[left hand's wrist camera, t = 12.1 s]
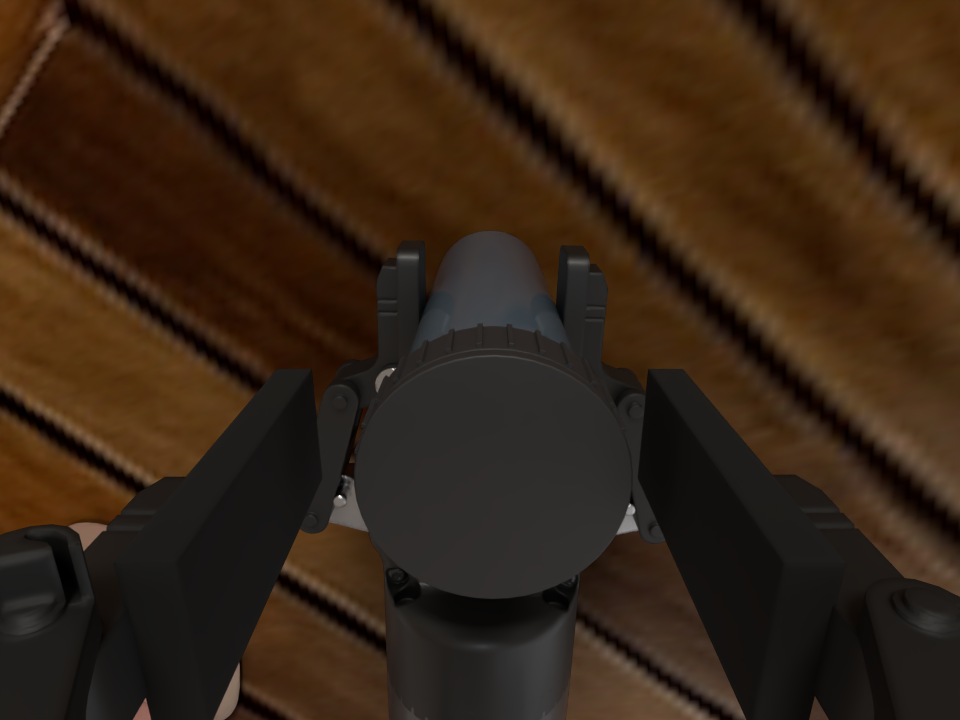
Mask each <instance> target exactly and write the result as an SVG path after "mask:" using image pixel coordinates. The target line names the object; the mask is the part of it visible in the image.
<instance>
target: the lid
mask: <svg viewBox="0 0 960 720" xmlns="http://www.w3.org/2000/svg"><path fill="white" fill-rule="evenodd" d="M361 428H362V429H363V431H362V434H361V436H360V439H359V441H358V443H357V446H356V448H355V453H354V454H356V458H355V465H354V488H355V495H356V501H357V504H358V507H359V510H360V514H361V516H362V519H363V521H364V523H365V525H366V527H367V529H368V531H369V533H370V534H371V536H372V537H373V539H374V540H375V542H376V544H377V545H378V546H379V547H380V548H381V549H382V551H383V552H384V553H385V554H386V555H387V556H388V557H389V558H390V559H391V560H392V561H393V562H394V563H395V564H396V565H398V566H399V567H400V568H401V569H403V570H404V571H406V572H407V573H408V574H410V575H411V576H413V577H415V578H416V579H418V580H420V581H422V582H424V583H426V584H428V585H430V586H433V587H435V588H437V589H440V590H442V591H446V592H449V593H453V594H456V595H461V596H467V597H473V598H485V599H501V598H513V597H520V596H526V595H530V594H533V593H537V592H541V591H544V590H546V589H549V588H552V587H554V586H557V585H559V584H561V583H563V582H564V581H566V580H568V579H570V578H572V577H574V576H575V575H576V574H578V573H579V572H581V571H582V570H584V569H585V568H586V567H588V566H589V565H590V564H591V563H592V562H593V561H595V560H596V559H597V558H598V557H599V556H600V555H601V553H602V552H603V551H604V550H605V549H606V548H607V547H608V546H609V544H610V543H611V541H612V540H613V538H614V537H615V535H616V534H617V532H618V530H619V528H620V526H621V524H622V522H623V520H624V518H625V515H626V512H627V509H628V506H629V503H630V498H631V492H632V484H633V468H632V460H631V459H632V453H631V451H630V449H629V447H628V443H627V440H626V437H625V435H624V433H626V432H627V429H626V427H625V425H624V422H623V420H622V418H621V416H620V414H619V412H618V410H617V407H616V405H615V403H614V402H613V400H612V397H611V395H610V393H609V391H608V389H607V387H606V385H605V382H604V381H603V379H600V380H598V379H597V377H596V376H595V374H594V373H593V372H592V370H591V367H590V365H589V363H588V361H587V360H586V359H585V358H584V359H583V360H581V359H580V358H578V357H577V356H576V355H575V354H574V353H573V352H571V351H570V350H568V347H567V345H566V343H564V342H561V343H560V344H559V343H557V342H555V341H553V340H551V339H549V338H547V337H545V336H543V335H541V331H538V330H535V332H531V331H528V330H522V329H517V328H513V327H512V324H507V326H506V327H501V326H484V327H483V323H480V324H477V327H473V328H468V329H463V330H458V331H455V330H454V329H450V330H449V332H448V334H446V335H443V336H441V337H439V338H436V339H434V340H432V341H430V342H429V341H428V340H425V341H423V343H422V346H421V347H420V348H419V349H417V350H415V351H414V352H413V353H412V354H410V355H409V356H408V357H406V356H405V355H404V356H402V357H401V358H400V361H399V364H398V366H397V368H396V369H395V370H394V371H393V372H392V373H391V375H390V376H389V377H388V376H387V375H385V377H384V378H383V380H382V383H381V385H380V388H379V390H378V392H377V395H376V397H375V398H373V399H372V401H371V404H370V406H369V408H368V411H367V413H366V415H365V418H364V420H363V422H362V425H361Z"/></svg>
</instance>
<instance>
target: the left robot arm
mask: <svg viewBox="0 0 960 720" xmlns="http://www.w3.org/2000/svg"><path fill="white" fill-rule="evenodd" d="M321 480H322V468H321V458H320V448H319V438H318V428H317V417H316V407H315V397H314V387H313V377H312V369H277V370H276V371H275V372H274V373H273V375H272V376H271V377H270V378H269V379H268V381H267V382H266V383H265V384H264V385H263V386H262V388H261V389H260V390H259V391H258V392H257V394H256V395H255V396H254V397H253V398H252V399H251V401H250V402H249V403H248V404H247V405H246V407H245V408H244V409H243V410H242V411H241V412H240V414H239V415H238V416H237V417H236V418H235V420H234V421H233V422H232V423H231V424H230V425H229V427H228V428H227V429H226V430H225V431H224V433H223V434H222V435H221V436H220V437H219V438H218V440H217V441H216V442H215V443H214V444H213V446H212V447H211V448H210V449H209V450H208V451H207V453H206V454H205V455H204V456H203V457H202V459H201V460H200V461H199V462H198V463H197V464H196V466H195V467H194V468H193V469H192V470H191V472H190V473H189V474H188V475H187V476H186V477H164V478H162V479H161V480H159V481H157V482H156V483H154V484H152V485H151V486H149V487H147V488H146V489H144V490H142V491H141V492H139V493H138V494H137V495H136V496H135V497H134V498H133V499H132V500H131V501H130V502H129V503H128V505H127V506H126V507H125V508H124V509H123V510H122V511H121V515H117V516H116V517H115V518H114V519H113V520H112V522H111V523H110V524H109V525H108V526H107V527H106V531H102V532H101V533H100V534H99V535H98V536H97V538H96V539H95V540H94V541H93V542H92V543H91V544H90V545H89V546H88V547H87V548H86V549H85V550H84V551H83V547H82V543H81V539H80V535H79V533H77V532H76V531H74V530H73V529H72V528H70V527H67V526H60V525H53V524H51V525H40V526H30V527H26V528H22V529H18V530H15V531H11V532H7V533H4V534H2V535H0V720H133V719H134V717H135V715H136V714H137V712H138V710H139V708H140V707H141V705H142V703H143V702H144V700H145V698H146V701H147V705H148V709H149V713H150V717H151V720H214V717H215V715H216V713H217V711H218V709H219V706H220V704H221V702H222V700H223V697H224V695H225V693H226V691H227V689H228V686H229V684H230V682H231V680H232V678H233V675H234V673H235V671H236V669H237V666H238V664H239V662H240V660H241V658H242V655H243V653H244V651H245V649H246V647H247V644H248V642H249V640H250V638H251V635H252V633H253V631H254V629H255V627H256V624H257V622H258V620H259V618H260V616H261V613H262V611H263V609H264V607H265V604H266V602H267V600H268V598H269V596H270V593H271V591H272V589H273V587H274V584H275V582H276V580H277V578H278V576H279V573H280V571H281V569H282V567H283V565H284V562H285V560H286V558H287V556H288V553H289V551H290V549H291V547H292V545H293V542H294V540H295V538H296V536H297V534H298V531H299V529H300V527H301V525H302V522H303V520H304V518H305V516H306V514H307V511H308V509H309V507H310V505H311V502H312V500H313V498H314V496H315V494H316V491H317V489H318V487H319V485H320V483H321ZM638 480H639V483H640V485H641V487H642V489H643V491H644V494H645V496H646V498H647V500H648V502H649V505H650V507H651V509H652V511H653V514H654V516H655V518H656V520H657V522H658V525H659V527H660V529H661V531H662V534H663V536H664V538H665V540H666V542H667V545H668V547H669V549H670V551H671V553H672V556H673V558H674V560H675V562H676V565H677V567H678V569H679V571H680V573H681V576H682V578H683V580H684V582H685V584H686V587H687V589H688V591H689V593H690V596H691V598H692V600H693V602H694V604H695V607H696V609H697V611H698V613H699V616H700V618H701V620H702V622H703V624H704V627H705V629H706V631H707V633H708V635H709V638H710V640H711V642H712V644H713V647H714V649H715V651H716V653H717V655H718V658H719V660H720V662H721V664H722V666H723V669H724V671H725V673H726V675H727V678H728V680H729V682H730V684H731V686H732V689H733V691H734V693H735V695H736V698H737V700H738V702H739V704H740V706H741V709H742V711H743V713H744V715H745V717H746V720H809V717H810V713H811V709H812V705H813V701H814V697H816V698H817V700H818V702H819V703H820V705H821V707H822V709H823V710H824V712H825V714H826V715H827V717H828V719H829V720H960V597H959V596H957V595H955V594H953V593H951V592H949V591H947V590H945V589H943V588H941V587H939V586H935V585H932V584H929V583H925V582H922V581H919V580H916V579H907V578H904V577H903V576H902V575H901V574H900V573H899V572H898V571H897V569H896V568H895V567H894V566H893V565H892V564H891V563H890V562H889V561H888V560H887V559H886V558H885V557H884V556H883V555H882V554H881V553H880V551H879V550H878V549H877V548H876V547H875V546H874V545H873V544H872V543H871V542H870V541H869V540H868V539H867V538H866V537H865V536H864V535H863V534H862V532H861V531H860V530H859V529H855V528H854V524H853V523H852V522H851V521H850V520H849V519H848V518H847V517H846V516H845V514H844V513H840V511H839V508H838V507H837V506H836V505H835V504H834V503H833V502H832V501H831V500H830V499H829V498H828V497H827V495H826V494H825V493H824V492H823V491H822V490H820V489H818V488H817V487H815V486H813V485H812V484H810V483H808V482H807V481H805V480H803V479H801V478H800V477H798V476H796V475H772V474H771V473H770V472H769V470H768V469H767V468H766V467H765V466H764V465H763V463H762V462H761V461H760V460H759V459H758V457H757V456H756V455H755V454H754V453H753V451H752V450H751V449H750V448H749V447H748V446H747V444H746V443H745V442H744V441H743V440H742V438H741V437H740V436H739V435H738V434H737V433H736V431H735V430H734V429H733V428H732V427H731V425H730V424H729V423H728V422H727V421H726V420H725V418H724V417H723V416H722V415H721V414H720V412H719V411H718V410H717V409H716V408H715V407H714V405H713V404H712V403H711V402H710V401H709V399H708V398H707V397H706V396H705V395H704V394H703V392H702V391H701V390H700V389H699V388H698V386H697V385H696V384H695V383H694V382H693V381H692V379H691V378H690V377H689V376H688V375H687V373H686V372H685V371H684V370H683V369H648V377H647V387H646V397H645V407H644V417H643V428H642V438H641V448H640V458H639V468H638Z"/></svg>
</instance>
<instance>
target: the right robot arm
mask: <svg viewBox="0 0 960 720" xmlns="http://www.w3.org/2000/svg"><path fill="white" fill-rule="evenodd" d="M376 287H377V311H378V313H377V318H378V349H379V353H378V354H377V355H376V356H374V357H372V358H369V359H366V360H363V361H359V360H348V361H346V362H344V363H343V364H342V365H341V366H340V368H339V369H338V371H337V373H336V376H335V378H334V380H333V382H332V383H331V384H330V385H329V386H328V387H327V389H326V390H325V392H324V394H323V396H322V400H321V405H320V409H319V413H318V417H317V428H318V438H319V448H320V458H321V468H322V480H321V483H320V485H319V487H318V489H317V491H316V494H315V496H314V498H313V500H312V502H311V505H310V507H309V509H308V511H307V514H306V516H305V518H304V520H303V522H302V525H301V527H300V529H301V530H302V531H304V532H307V533H319V532H321V531H323V530H324V529H325V528H326V527H327V525H328V522H331V523H335V524H339V525H343V526H347V527H351V528H355V529H358V530H362V531H366V532H368V533H369V531H368V529H367V527H366V525H365V523H364V521H363V519H362V516H361V514H360V510H359V507H358V504H357V501H356V495H355V488H354V465H355V463H349V460H350V456H351V453H352V449H353V445H354V441H355V437H356V433H357V430H358V426H359V422H360V418H361V414H362V410H363V408H365V407H368V406H370V404H371V401H372V399H373V398H375V397H376V395H377V392H378V390H379V388H380V385H381V383H382V380H383V378H384V377H385V375H387V376H388V377H389V376H390V375H391V373H392V372H393V371H394V370H395V369H396V368H397V366H398V364H399V361H400V358H401V357H402V356H404V355H405V356H406V357H408V355H409V352H410V349H411V346H412V343H413V340H414V338H415V335H416V332H417V329H418V326H419V323H420V320H421V318H422V315H423V312H424V309H425V243H424V241H402V243H401V244H400V245H399V247H398V249H397V258H388V260H387V261H386V262H385V263H384V265H383V266H382V268H381V271H380V274H379V276H378V279H377V282H376ZM607 293H608V288H607V284H606V281H605V278H604V275H603V272H602V271H601V270H600V269H599V268H598V266H597V265H596V264H590V259H589V253H588V252H587V251H586V250H585V248H584V247H583V246H563V245H562V246H561V249H560V256H559V270H558V284H557V299H556V308H557V311H558V313H559V316H560V319H561V321H562V324H563V326H564V329H565V331H566V334H567V337H568V339H569V342H570V344H571V347H572V349H573V352H574V354H575V355H576V356H577V357H578V358H580V359H581V360H583V359H584V358H585V359H586V360H587V361H588V363H589V365H590V367H591V370H592V372H593V373H594V374H595V376H596V377H597V379H598V380H600V379H603V381H604V382H605V385H606V387H607V389H608V391H609V393H610V395H611V397H612V400H613V402H614V403H615V405H616V407H617V410H618V412H619V414H620V416H621V418H622V420H623V422H624V425H625V427H626V429H627V432H626V433H624V435H625V437H626V440H627V443H628V447H629V449H630V451H631V453H632V459H631V460H632V468H633V484H632V492H631V498H630V503H629V506H628V509H627V512H626V515H625V518H624V520H623V522H622V524H621V526H620V528H619V530H618V532H617V534H616V535H618V534H623V533H628V532H633V531H639V533H640V536H641V537H642V539H643V540H645V541H646V542H648V543H652V544H658V543H662V542H664V541H666V540H665V538H664V536H663V534H662V531H661V529H660V527H659V525H658V522H657V520H656V518H655V516H654V514H653V511H652V509H651V507H650V505H649V502H648V500H647V498H646V496H645V494H644V491H643V489H642V487H641V485H640V483H639V480H638V468H639V458H640V448H641V438H642V428H643V417H644V407H645V397H646V392H645V390H644V389H643V387H642V385H641V384H640V382H639V380H638V379H637V377H636V375H635V374H634V373H633V372H632V371H631V370H629V369H627V368H617V369H616V368H614V367H611V366H609V365H606V364H604V363H603V362H601V354H602V344H603V334H604V323H605V313H606V303H607ZM369 538H370V541H371V543H372V545H373V546H374V547H375V549H376V550H377V552H378V553H379V555H380V557H381V559H382V562H383V567H384V587H385V617H386V651H387V682H388V709H389V719H390V720H566V715H567V705H568V695H569V685H570V674H571V664H572V654H573V643H574V633H575V622H576V612H577V602H578V592H579V582H580V573H581V572H579V573H578V574H576V575H575V576H574V577H572V578H570V579H568V580H566V581H564V582H563V583H561V584H559V585H557V586H554V587H552V588H549V589H546V590H544V591H541V592H537V593H533V594H530V595H526V596H520V597H513V598H501V599H485V598H473V597H467V596H461V595H456V594H453V593H449V592H446V591H442V590H440V589H437V588H435V587H433V586H430V585H428V584H426V583H424V582H422V581H420V580H418V579H416V578H415V577H413V576H411V575H410V574H408V573H407V572H406V571H404V570H403V569H401V568H400V567H399V566H398V565H396V564H395V563H394V562H393V561H392V560H391V559H390V558H389V557H388V556H387V555H386V554H385V553H384V552H383V551H382V549H381V548H380V547H379V546H378V545H377V544H376V542H375V540H374V539H373V537H372V536H371V534H370V533H369Z"/></svg>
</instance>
